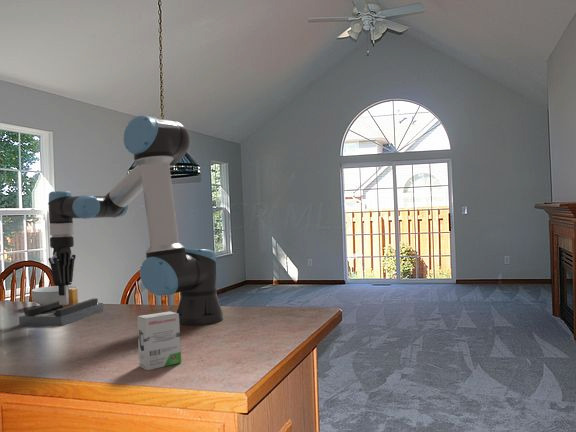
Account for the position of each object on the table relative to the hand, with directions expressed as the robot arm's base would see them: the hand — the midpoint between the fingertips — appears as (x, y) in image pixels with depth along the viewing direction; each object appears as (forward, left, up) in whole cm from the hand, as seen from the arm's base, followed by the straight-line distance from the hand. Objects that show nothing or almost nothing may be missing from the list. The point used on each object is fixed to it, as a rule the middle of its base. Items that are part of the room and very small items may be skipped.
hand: (64, 304), depth 190 cm
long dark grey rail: (-5, +1, -2) cm, 6 cm away
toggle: (0, -4, -1) cm, 4 cm away
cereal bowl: (+18, -22, -5) cm, 29 cm away
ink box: (-58, +54, -5) cm, 79 cm away
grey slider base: (0, +1, -5) cm, 5 cm away
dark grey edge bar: (+5, +1, -2) cm, 6 cm away
